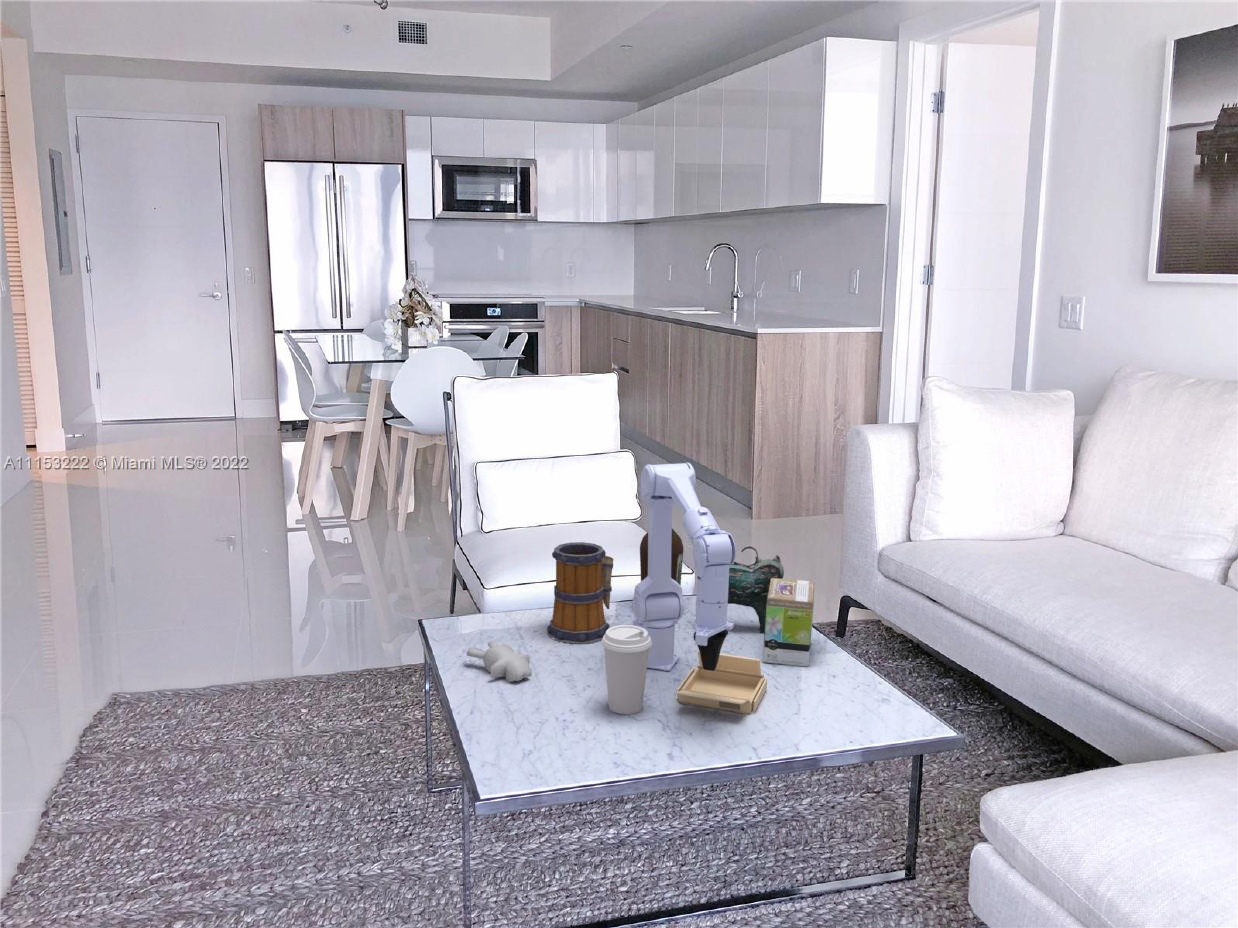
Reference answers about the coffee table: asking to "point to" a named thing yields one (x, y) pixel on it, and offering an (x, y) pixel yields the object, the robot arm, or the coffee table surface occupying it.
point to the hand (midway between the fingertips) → (709, 668)
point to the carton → (724, 689)
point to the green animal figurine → (753, 584)
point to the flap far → (737, 663)
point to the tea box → (788, 622)
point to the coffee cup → (626, 667)
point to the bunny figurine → (503, 661)
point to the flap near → (711, 697)
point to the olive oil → (675, 557)
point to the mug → (580, 593)
